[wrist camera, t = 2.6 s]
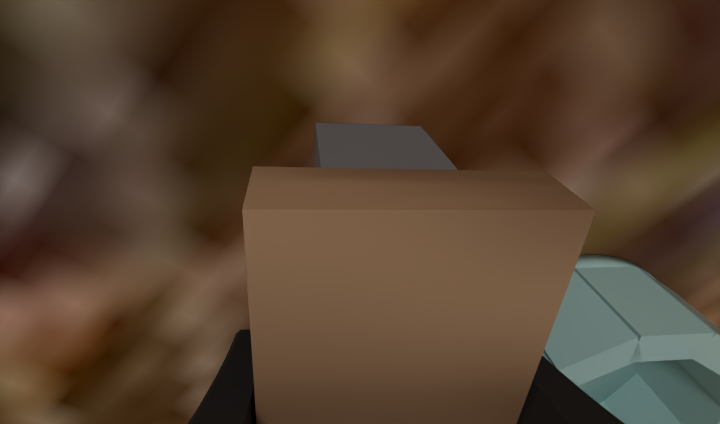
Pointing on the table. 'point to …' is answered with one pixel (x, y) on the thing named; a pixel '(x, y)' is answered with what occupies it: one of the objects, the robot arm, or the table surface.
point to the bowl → (636, 345)
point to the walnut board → (404, 291)
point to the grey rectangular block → (377, 147)
